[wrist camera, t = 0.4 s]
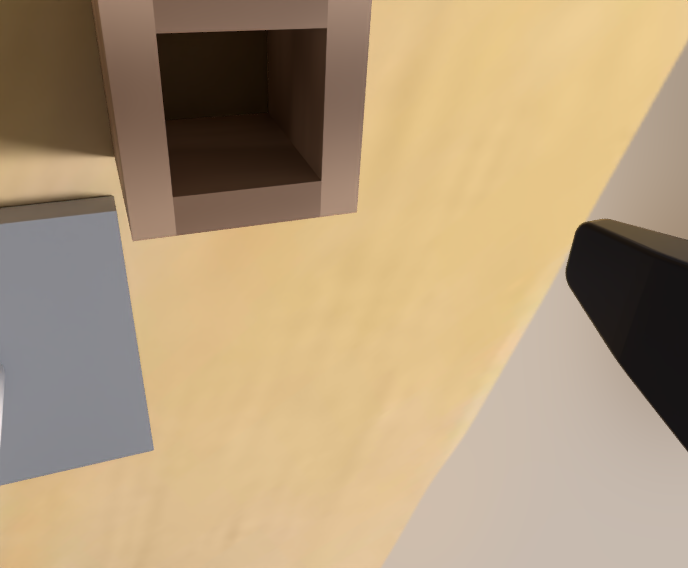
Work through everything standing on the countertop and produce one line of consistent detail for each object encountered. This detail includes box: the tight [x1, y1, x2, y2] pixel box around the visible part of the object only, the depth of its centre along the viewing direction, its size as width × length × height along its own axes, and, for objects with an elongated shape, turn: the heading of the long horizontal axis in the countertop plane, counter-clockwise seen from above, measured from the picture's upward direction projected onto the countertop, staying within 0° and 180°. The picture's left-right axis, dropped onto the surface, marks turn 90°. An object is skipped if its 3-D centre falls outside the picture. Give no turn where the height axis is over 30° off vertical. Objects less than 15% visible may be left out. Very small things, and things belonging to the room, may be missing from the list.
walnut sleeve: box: [91, 0, 372, 241], centre depth 17 cm, size 6×6×5 cm
